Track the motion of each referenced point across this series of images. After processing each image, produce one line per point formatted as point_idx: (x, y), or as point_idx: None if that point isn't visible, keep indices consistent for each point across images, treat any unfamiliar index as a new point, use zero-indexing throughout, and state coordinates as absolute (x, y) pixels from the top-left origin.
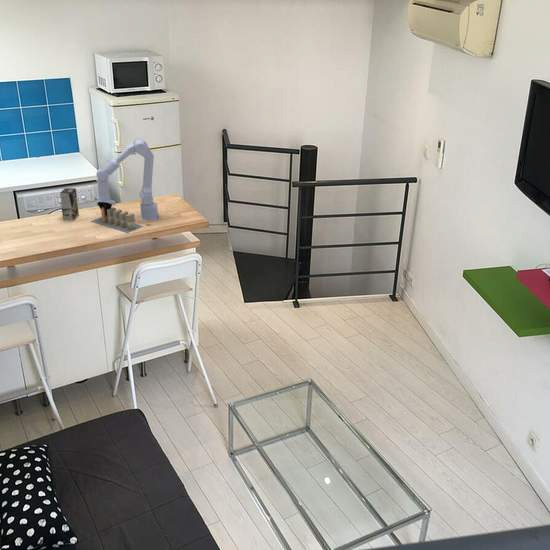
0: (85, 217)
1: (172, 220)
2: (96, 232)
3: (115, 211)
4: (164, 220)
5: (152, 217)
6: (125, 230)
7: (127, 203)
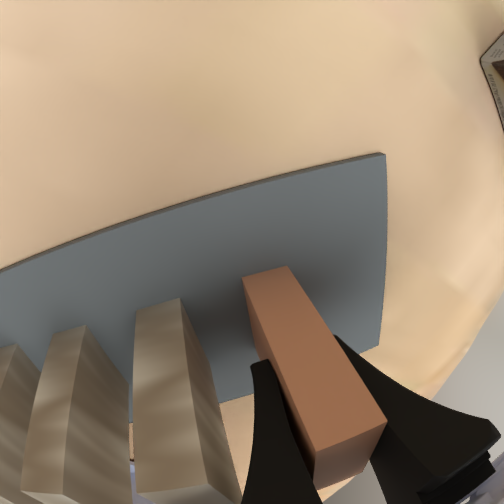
0: (476, 187)
1: None
2: (4, 53)
3: (53, 500)
4: None
5: None
6: None
7: None
